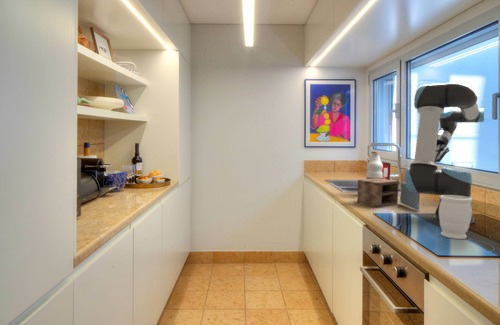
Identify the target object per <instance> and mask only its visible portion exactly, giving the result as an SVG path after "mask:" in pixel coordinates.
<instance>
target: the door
mask: <svg viewBox="0 0 500 325" xmlns="http://www.w3.org/2000/svg"><path fill="white" fill-rule="evenodd" d="M420 194H421V193H419V194H418V193H414V192H410V191H408V190H407V188H406V184H405V181H402V182H401V183H400V196H399V202H400V204H402V205H404V206H407V207H409V208H410V209H411V208H412V209H413V210H419V209H420V206H421V203H420V197H421V196H420Z"/></svg>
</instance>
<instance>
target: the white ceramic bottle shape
mask: <svg viewBox="0 0 500 325" xmlns="http://www.w3.org/2000/svg"><path fill="white" fill-rule="evenodd" d="M370 153H371V157H370V158H369V162H367V165H366V167H367V171H366V179H372V178H379V179H383V173H382V168H383V164H382V162H383V161H382V160H381V157H380V154H381V152H380V151H371V152H370Z"/></svg>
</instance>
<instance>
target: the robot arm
mask: <svg viewBox="0 0 500 325" xmlns="http://www.w3.org/2000/svg"><path fill="white" fill-rule="evenodd" d="M413 101H414V103H413V105H414V108H415V109H416V111H417V113H418V114H419V120H418V126H417V128H418V129H417V136H416V145H415V154H414V160H413V161H412V162H411V163H410V165H409V167H406V168H405V172H404V183H405V184H406V188H407V190H408V191H410V192H414V193H418V194H419V193H420V194H424V195H432V196H440V195H459V196H466V197H470V198H471V194H472V193H471V192H472V184H473V181H472V173H471V172H470V171H469V170H466V169H460V168H455V167H448V166H443V167H441V169H438V165H437V164H436V163H440V162H441V161H442V160H443V158H444V157H445V156H446V155H447V154H448V153H449V152H450V148H449V147H447V146H448V144H449V143H450V140H451V138H452V137H453V134H454V132H455V131H456V130H457V127H458V123H484V121H485V119H484V112H485V113H486V109H485V108H479V105H478V103H477V101H478V94H477V92H476V91H475V89H473V88H472V87H471V86H468V85H467V84H464V83H461V82H443V83H428V84H422V85H420V86H418V87H417V89H416V91H415V94H414V99H413ZM455 108H456V109H455ZM457 108H458V109H457ZM484 109H485V110H484ZM440 202H441V199H440V198H439V202H438V204H437V207H436V209H435V211H434V219H435V220H438V221H440V219H439V206H440ZM474 217H475V216H474V213H473V212H472V217H471V221H470V225H471V224H473V223H474V222H475V218H474Z"/></svg>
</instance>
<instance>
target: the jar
mask: <svg viewBox="0 0 500 325" xmlns="http://www.w3.org/2000/svg"><path fill="white" fill-rule="evenodd" d="M440 199H441V202H440V201H439V202H440V206H439V219H440V220H439V226H440V228H441V232H440V235H441V236H443V237H445V238H449V239H454V240H465V239H467V238H468V236H467V234H466V233H467V232H468V231H469V229H470V225H471V224H470V221H471V217H472V213H473V210H472V204H471V203H472V202H473V199H474V198H472V197H471V196H470V197H466V196H459V195H439V200H440Z"/></svg>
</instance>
